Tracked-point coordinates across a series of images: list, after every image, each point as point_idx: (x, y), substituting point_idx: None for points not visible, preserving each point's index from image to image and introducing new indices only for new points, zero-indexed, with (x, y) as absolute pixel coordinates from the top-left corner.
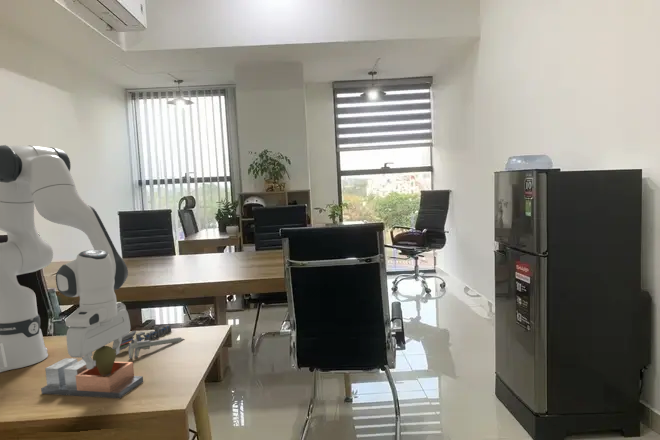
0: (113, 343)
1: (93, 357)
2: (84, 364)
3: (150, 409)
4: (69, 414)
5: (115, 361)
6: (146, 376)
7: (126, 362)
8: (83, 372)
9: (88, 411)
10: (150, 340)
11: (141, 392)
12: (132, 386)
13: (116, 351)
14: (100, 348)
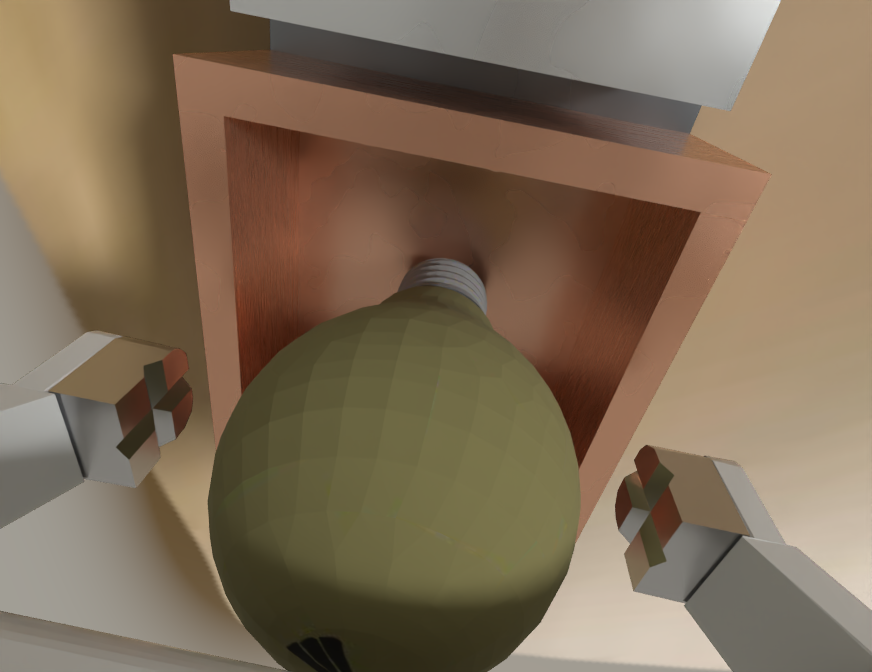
0: (826, 623)
1: (239, 411)
2: (480, 15)
3: (210, 560)
4: (20, 190)
5: (660, 383)
6: (629, 455)
7: (584, 497)
8: (300, 119)
9: (101, 302)
10: None
11: None
12: None
13: (628, 554)
14: (276, 638)
